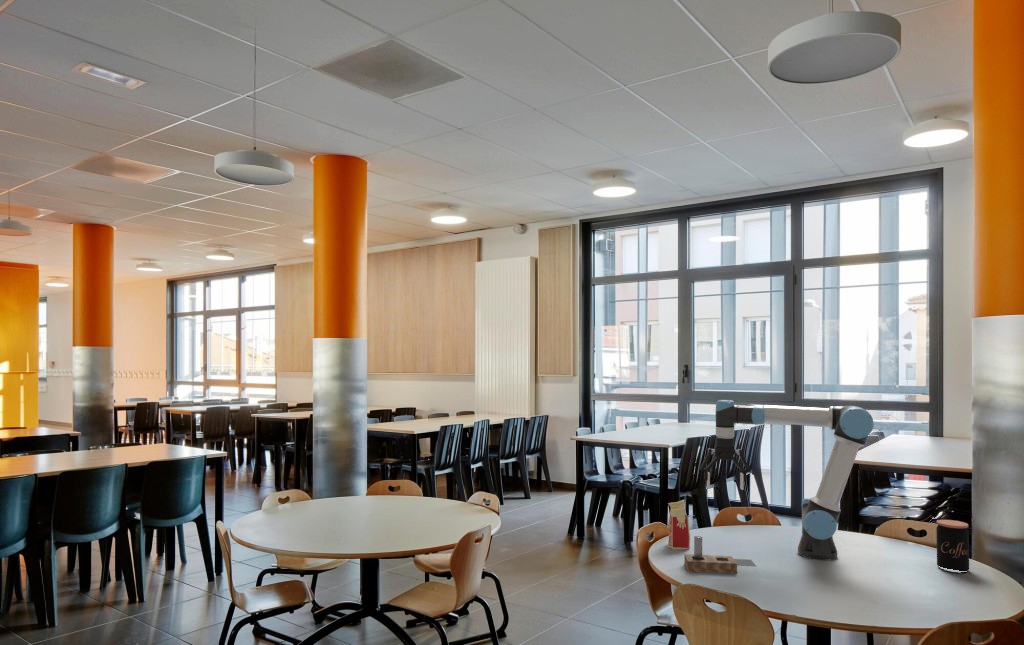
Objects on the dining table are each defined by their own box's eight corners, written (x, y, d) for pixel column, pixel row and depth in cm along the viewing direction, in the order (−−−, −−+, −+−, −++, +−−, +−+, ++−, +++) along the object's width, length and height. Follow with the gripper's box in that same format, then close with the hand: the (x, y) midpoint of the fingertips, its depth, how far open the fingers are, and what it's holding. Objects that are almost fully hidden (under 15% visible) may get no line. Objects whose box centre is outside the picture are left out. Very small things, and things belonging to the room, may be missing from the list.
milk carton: (687, 544, 301) (687, 497, 302) (690, 550, 292) (690, 502, 293) (666, 543, 302) (666, 497, 303) (668, 549, 293) (669, 501, 294)
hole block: (731, 566, 270) (731, 556, 270) (737, 574, 260) (737, 563, 260) (684, 564, 272) (684, 554, 272) (688, 572, 262) (688, 561, 262)
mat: (751, 560, 278) (751, 559, 278) (756, 567, 269) (756, 566, 269) (728, 559, 279) (728, 558, 279) (732, 566, 270) (732, 565, 270)
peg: (701, 567, 267) (701, 536, 268) (702, 570, 264) (702, 538, 265) (693, 567, 268) (693, 535, 268) (694, 569, 265) (694, 537, 265)
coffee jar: (938, 570, 268) (937, 523, 269) (936, 563, 277) (935, 518, 278) (971, 575, 263) (970, 527, 264) (967, 568, 272) (966, 521, 273)
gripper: (753, 437, 292) (753, 487, 291) (693, 435, 295) (693, 485, 294) (758, 439, 285) (758, 491, 284) (695, 437, 287) (695, 489, 286)
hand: (725, 488), depth 289 cm, fingers open, 13 cm apart
